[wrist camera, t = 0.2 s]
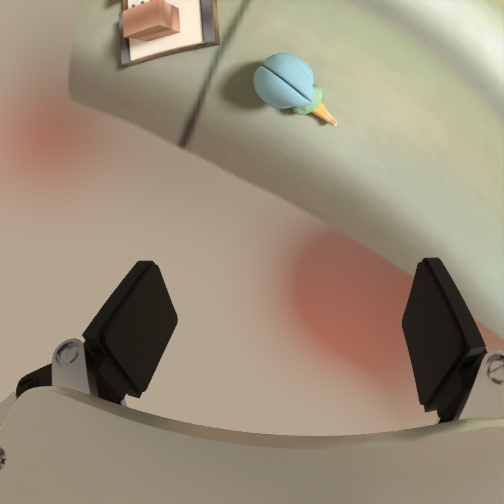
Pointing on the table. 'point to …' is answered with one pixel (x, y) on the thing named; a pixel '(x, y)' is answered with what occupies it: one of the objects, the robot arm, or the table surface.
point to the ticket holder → (209, 40)
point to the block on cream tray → (162, 26)
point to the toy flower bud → (290, 86)
